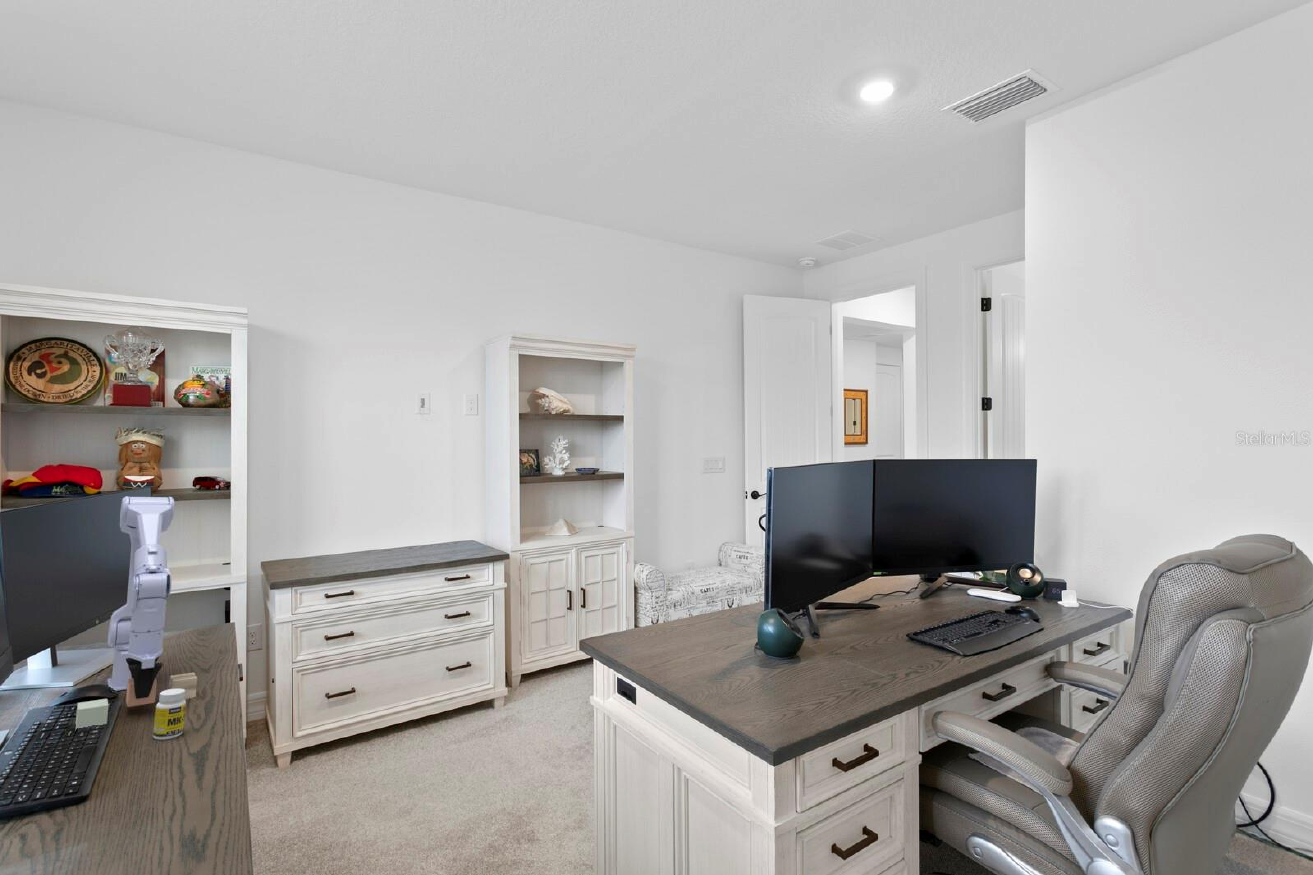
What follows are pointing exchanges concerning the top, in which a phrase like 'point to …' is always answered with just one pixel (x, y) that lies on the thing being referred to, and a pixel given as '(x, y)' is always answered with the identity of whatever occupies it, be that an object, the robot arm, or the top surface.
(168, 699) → the supplement bottle
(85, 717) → the sage block
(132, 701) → the terracotta block
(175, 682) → the birch block
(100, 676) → the top surface
